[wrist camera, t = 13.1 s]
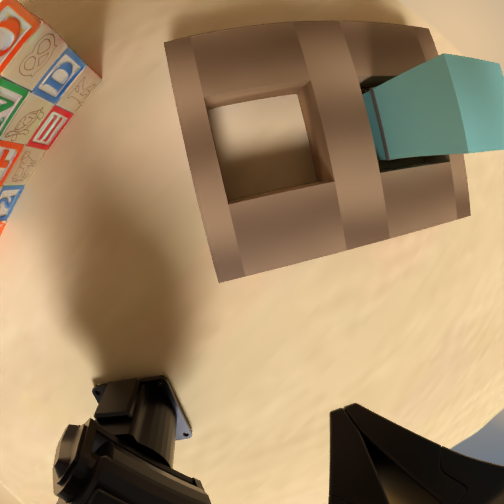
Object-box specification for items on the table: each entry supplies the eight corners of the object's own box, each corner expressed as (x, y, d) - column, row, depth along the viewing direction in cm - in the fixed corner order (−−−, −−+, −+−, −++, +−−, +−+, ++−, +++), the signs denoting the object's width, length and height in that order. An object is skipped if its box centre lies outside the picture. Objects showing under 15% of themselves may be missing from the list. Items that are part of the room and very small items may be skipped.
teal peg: (416, 155, 20) (520, 149, 11) (365, 162, 20) (468, 154, 10) (402, 96, 19) (499, 62, 9) (351, 99, 19) (442, 52, 9)
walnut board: (445, 211, 21) (470, 215, 18) (218, 268, 20) (218, 283, 17) (407, 41, 18) (428, 28, 15) (170, 61, 17) (163, 42, 14)
